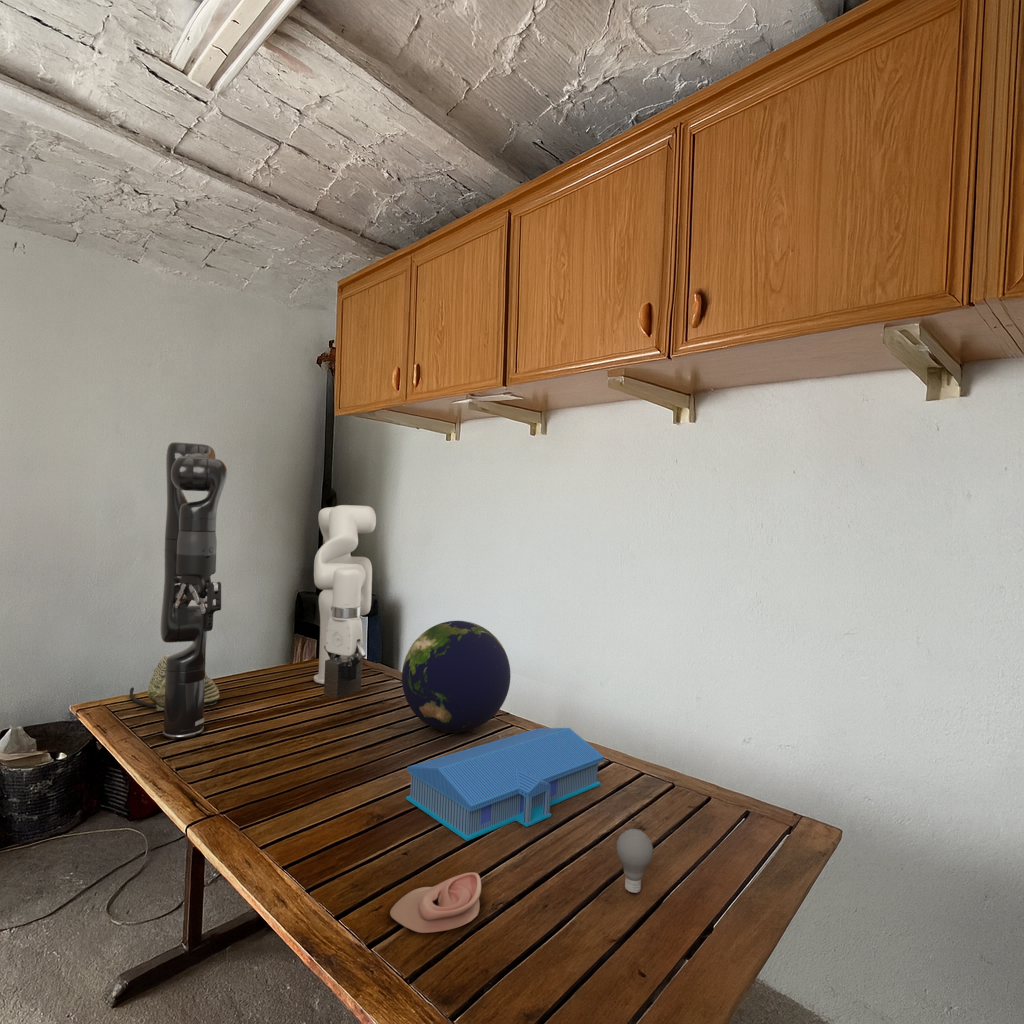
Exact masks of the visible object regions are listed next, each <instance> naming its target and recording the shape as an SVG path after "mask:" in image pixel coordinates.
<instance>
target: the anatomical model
mask: <svg viewBox="0 0 1024 1024" xmlns="http://www.w3.org/2000/svg"><path fill="white" fill-rule="evenodd" d="M481 894H482V880H481V876H480V875H479V874H478V873H477V872H475V871H473V872H464V873H462V874H458V875H455V876H453V877H450V878H448V879H446V880H444V881H442V882H439V883H438V884H435V885H434V886H423V887H419V888H415V889H413V890H411V891H409V892H408V893H406V894H405V895H403V896H402V897H401V898H400V899H399V900H398V901H397V902H395V904H394V905H392V907H391V909H390V911H389V916H390V917H391V918H392V919H393V920H394V921H395V922H397V923H398V924H399V925H400V926H403V927H405V928H406V929H408V930H411V931H413V932H415V933H420V934H427V933H429V934H430V933H438V932H444V931H450V930H454V929H457V928H460V927H462V926H464V925H466V924H468V923H470V922H472V921H473V920H474V919H476V917H477V916H478V915H479V912H480V907H481V902H480V896H481Z"/></svg>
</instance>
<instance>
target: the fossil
mask: <svg viewBox="0 0 1024 1024" xmlns="http://www.w3.org/2000/svg"><path fill="white" fill-rule="evenodd" d="M171 655H172V654H165V655H164V656H163V657H162V658H161V659H160V660H159V662H158V663H157V666H156V667H155V669H154V670H153V672H152V675H151V677H150V680H149V684H148V688H147V697H148V699H149V700H150V701H152V703H153V704H155V706H156V708H155V711H158V712H159V711H162V712H163V711H164V705H165V674H166V660H167V658H168V657H169V656H171ZM220 698H221V696H220V690H219V688H218V686H217V685H216V683H215V682H214V681H213V679H212V678H211V677H209V675H208V674H207V672H206V671H205V693H204V707H207V706H213V705H215V704H217V703H218V701H219V699H220Z"/></svg>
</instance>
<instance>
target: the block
mask: <svg viewBox="0 0 1024 1024" xmlns="http://www.w3.org/2000/svg"><path fill="white" fill-rule="evenodd" d="M352 660H353V657H352ZM347 666H349V665H348V660H347V657H346V656H340V657H336V658H332V659H329V660H325V677H324V684H323V696H324V697H328V698H331V699H334V700H338V699H342V698H344V697H348V696H351V695H353V694H356V693H358V692H359V693H360V692H361V691H362V675H363V659H362V660H361V661H360V662H359V664H358V665H357V666H356V679H354V680H350V681H347V680H346V671H347Z"/></svg>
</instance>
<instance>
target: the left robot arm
mask: <svg viewBox="0 0 1024 1024" xmlns="http://www.w3.org/2000/svg"><path fill="white" fill-rule="evenodd" d="M215 452H216V451H215V449H214V448H213V447H212V446H210V445H208V444H204V443H195V442H194V443H192V442H179V441H178V442H177V441H176V442H174V441H173V442H171V443H169V445H168V446H167V449H166V454H165V455H166V457H165V470H166V473H165V475H166V515H165V517H166V519H165V530H164V531H165V532H164V578H163V579H164V580H163V581H164V582H163V593H162V602H161V603H162V605H161V615H160V626H159V627H160V630H159V631H160V638H161V640H162V641H163V642H164V643H170V644H171V643H172V644H173V643H189V642H192V644H190V645H189V646H188V647H186V648H184V649H183V650H181V651H179V652H175V653H173V654H170V655H171V656H169V657H168V658H167V660H166V674H165V705H164V710H163V730H162V737H164V738H166V739H169V740H185V739H190V738H191V739H192V738H194V737H197V736H199V735H202V734H203V732H204V730H205V729H204V727H205V725H204V723H205V706H204V693H205V672H206V664H207V663H206V656H207V655H206V654H207V653H206V652H207V637H208V632H211V631H212V630H213V627H214V613H216V612H219V611H221V610H222V582H221V581H212V579H211V576H212V575H214V574H216V573H217V546H218V545H217V544H218V543H217V541H218V540H217V532H216V531H217V514H218V507H219V502H220V498H221V495H222V492H223V490H224V488H225V484H226V481H227V478H228V468H227V466H226V464H225V463H224V462H223V461H222V460H221V459H218V458H216V453H215ZM184 491H188V492H207V495H206V497H204V498H202V499H200V500H197V501H196V500H195V501H190V502H188V500H187V497H186V496H185V494H184ZM192 601H195V604H196V605H191V604H190V603H191V602H192ZM214 601H215V603H214ZM134 690H135V688H134V687H130V690H129V697H130V700H132V701H133V702H135V703H136V704H139V705H141V706H146V707H151V708H155V709H156V706H155V703H153V702H147V701H143V700H140V699H138V698H136V697H135V695H134Z"/></svg>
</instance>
